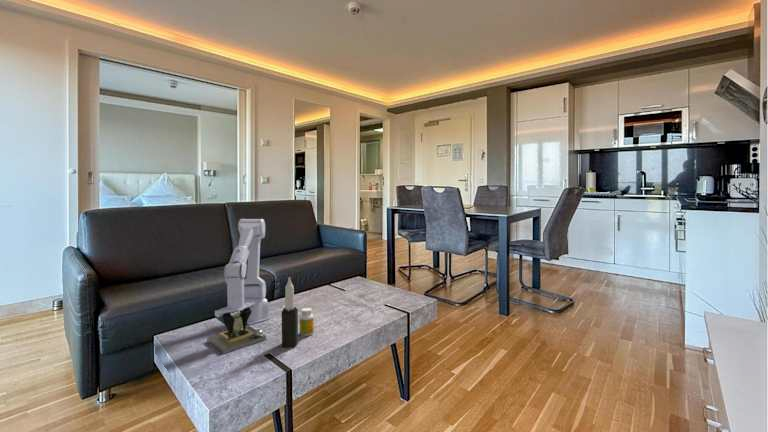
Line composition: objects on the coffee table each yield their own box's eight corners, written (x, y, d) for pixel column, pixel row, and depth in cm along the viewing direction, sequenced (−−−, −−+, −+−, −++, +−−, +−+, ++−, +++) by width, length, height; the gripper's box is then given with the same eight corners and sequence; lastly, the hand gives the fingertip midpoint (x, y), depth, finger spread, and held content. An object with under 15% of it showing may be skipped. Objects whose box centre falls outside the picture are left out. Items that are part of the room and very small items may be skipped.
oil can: (240, 333, 132) (239, 309, 131) (245, 336, 129) (245, 311, 128) (227, 337, 128) (227, 312, 128) (233, 340, 125) (232, 315, 125)
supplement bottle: (299, 336, 133) (299, 312, 132) (299, 331, 138) (299, 307, 137) (314, 335, 134) (314, 311, 133) (313, 330, 139) (313, 306, 139)
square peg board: (248, 329, 139) (248, 321, 139) (266, 339, 130) (266, 330, 129) (207, 341, 127) (206, 332, 127) (222, 354, 118) (222, 344, 118)
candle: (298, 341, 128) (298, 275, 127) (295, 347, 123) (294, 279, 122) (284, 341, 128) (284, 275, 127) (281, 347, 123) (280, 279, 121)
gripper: (220, 301, 119) (221, 339, 120) (259, 292, 130) (260, 328, 131) (212, 297, 124) (213, 334, 125) (250, 289, 135) (251, 323, 136)
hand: (236, 330), depth 128 cm, fingers closed on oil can, 4 cm apart
